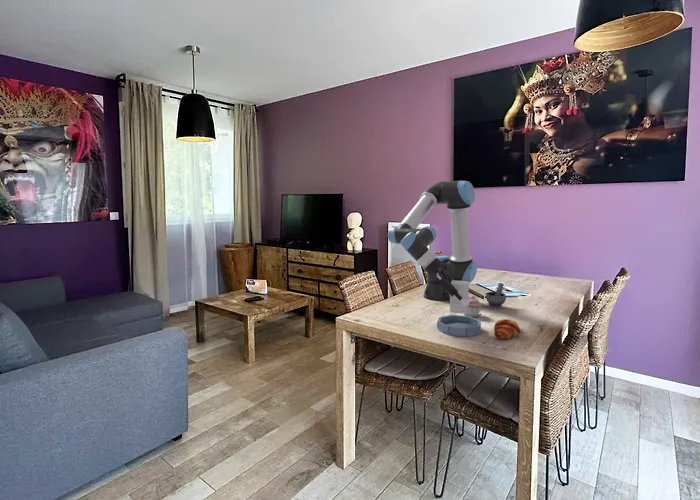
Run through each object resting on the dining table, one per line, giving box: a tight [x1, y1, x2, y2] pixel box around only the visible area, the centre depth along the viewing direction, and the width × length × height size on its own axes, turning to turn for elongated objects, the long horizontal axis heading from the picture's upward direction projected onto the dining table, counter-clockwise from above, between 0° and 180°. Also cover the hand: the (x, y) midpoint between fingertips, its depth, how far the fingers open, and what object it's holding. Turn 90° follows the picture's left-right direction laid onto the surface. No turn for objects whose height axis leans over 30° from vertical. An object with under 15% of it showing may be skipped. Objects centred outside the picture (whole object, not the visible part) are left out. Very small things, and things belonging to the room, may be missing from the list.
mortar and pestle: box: [485, 282, 507, 310], centre depth 203 cm, size 11×9×12 cm
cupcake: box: [463, 295, 483, 318], centre depth 189 cm, size 9×9×10 cm
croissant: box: [493, 318, 521, 340], centre depth 164 cm, size 21×10×8 cm, turn 141°
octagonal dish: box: [436, 314, 482, 338], centre depth 170 cm, size 18×18×4 cm
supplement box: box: [449, 280, 470, 315], centre depth 168 cm, size 7×7×13 cm
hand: (467, 302), depth 167 cm, fingers closed on supplement box, 7 cm apart
